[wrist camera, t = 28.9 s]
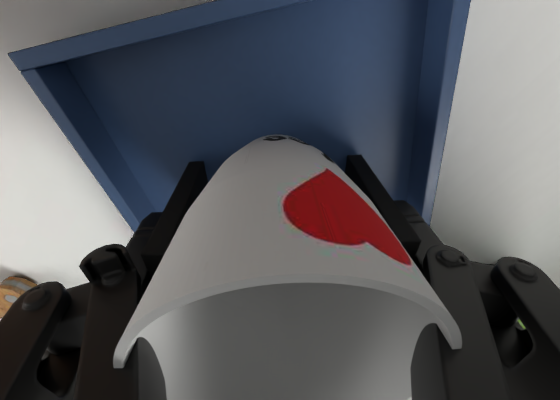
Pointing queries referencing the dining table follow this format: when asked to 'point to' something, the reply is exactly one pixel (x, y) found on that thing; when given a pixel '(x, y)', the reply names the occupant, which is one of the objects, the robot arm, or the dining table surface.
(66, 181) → the dining table surface
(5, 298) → the knife
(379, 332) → the cup
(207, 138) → the blue tray
